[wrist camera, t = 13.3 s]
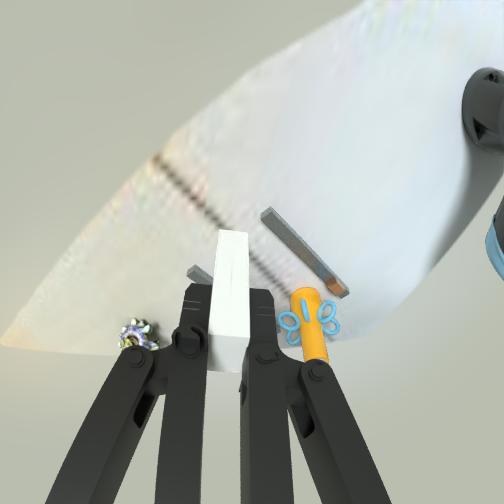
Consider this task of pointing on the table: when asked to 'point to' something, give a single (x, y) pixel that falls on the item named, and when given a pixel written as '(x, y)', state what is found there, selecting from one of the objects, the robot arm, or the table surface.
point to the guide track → (297, 246)
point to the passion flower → (138, 336)
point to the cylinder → (309, 322)
